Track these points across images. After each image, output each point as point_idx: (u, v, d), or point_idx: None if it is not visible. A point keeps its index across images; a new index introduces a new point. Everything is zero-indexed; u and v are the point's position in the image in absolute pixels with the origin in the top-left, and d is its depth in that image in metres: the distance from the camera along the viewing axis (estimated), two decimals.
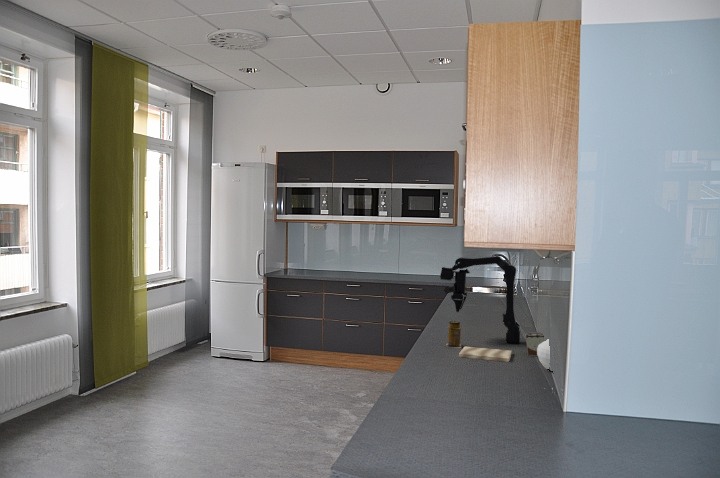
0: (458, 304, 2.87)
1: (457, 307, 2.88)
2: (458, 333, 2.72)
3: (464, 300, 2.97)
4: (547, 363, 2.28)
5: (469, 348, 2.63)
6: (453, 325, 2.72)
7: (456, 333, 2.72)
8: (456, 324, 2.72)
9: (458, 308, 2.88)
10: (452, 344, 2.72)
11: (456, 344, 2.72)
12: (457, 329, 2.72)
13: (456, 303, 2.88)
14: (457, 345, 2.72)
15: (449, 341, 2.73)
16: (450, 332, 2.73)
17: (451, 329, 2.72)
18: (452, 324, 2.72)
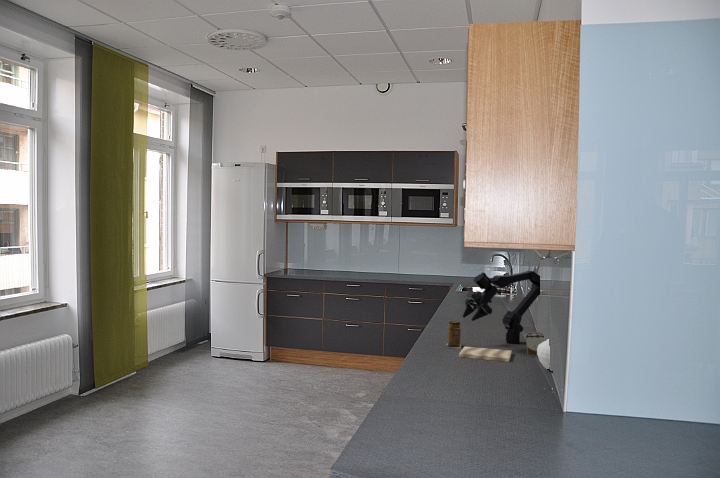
0: (479, 315, 2.72)
1: (476, 316, 2.72)
2: (458, 333, 2.72)
3: (471, 312, 2.83)
4: (547, 363, 2.28)
5: (469, 348, 2.63)
6: (453, 325, 2.72)
7: (456, 333, 2.72)
8: (456, 324, 2.72)
9: (476, 318, 2.72)
10: (452, 344, 2.72)
11: (456, 344, 2.72)
12: (457, 329, 2.72)
13: (478, 313, 2.72)
14: (457, 345, 2.72)
15: (449, 341, 2.73)
16: (450, 332, 2.73)
17: (451, 329, 2.72)
18: (452, 324, 2.72)
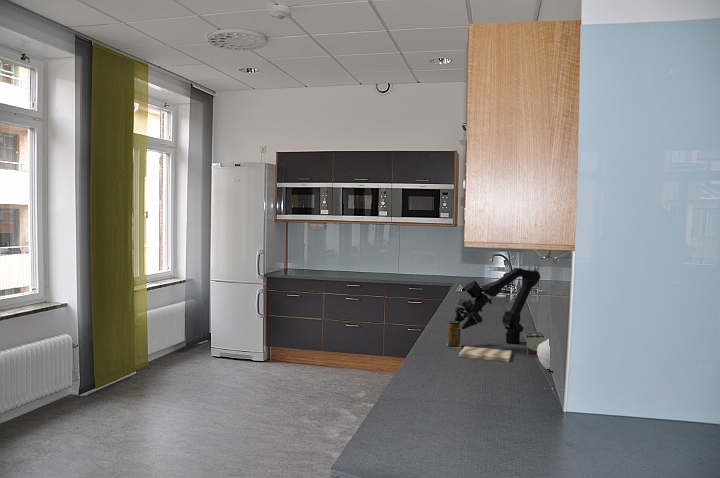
0: (469, 323, 2.70)
1: (466, 325, 2.70)
2: (458, 333, 2.72)
3: (461, 320, 2.81)
4: (547, 363, 2.28)
5: (469, 348, 2.63)
6: (453, 325, 2.72)
7: (456, 333, 2.72)
8: (456, 324, 2.72)
9: (466, 326, 2.70)
10: (452, 344, 2.72)
11: (456, 344, 2.72)
12: (457, 329, 2.72)
13: (468, 321, 2.70)
14: (457, 345, 2.72)
15: (449, 341, 2.73)
16: (450, 332, 2.73)
17: (451, 329, 2.72)
18: (452, 324, 2.72)
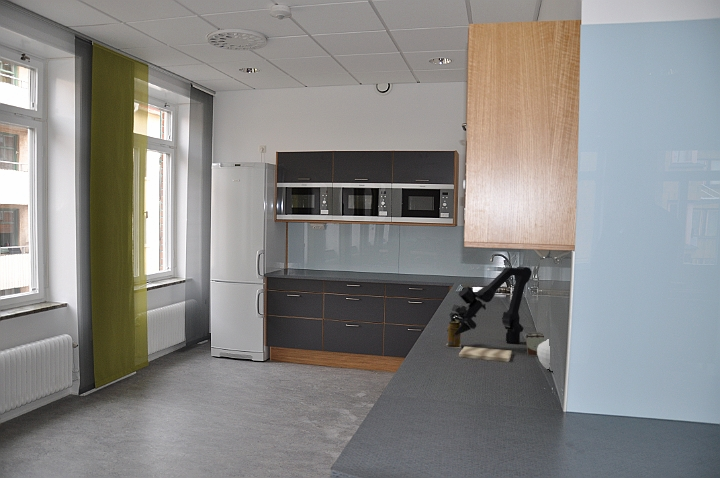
0: (462, 329, 2.70)
1: (459, 331, 2.69)
2: None
3: None
4: (547, 363, 2.28)
5: (469, 348, 2.63)
6: (453, 325, 2.72)
7: None
8: (456, 324, 2.72)
9: (459, 332, 2.70)
10: (452, 344, 2.72)
11: (456, 344, 2.72)
12: None
13: (461, 327, 2.69)
14: (457, 345, 2.72)
15: (449, 341, 2.73)
16: (450, 331, 2.73)
17: (451, 329, 2.72)
18: (452, 324, 2.72)
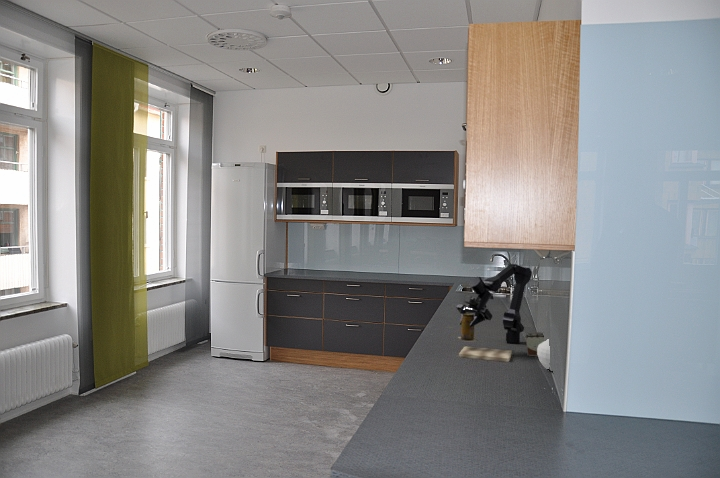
0: (477, 320, 2.62)
1: (474, 322, 2.61)
2: (473, 326, 2.63)
3: None
4: (547, 363, 2.28)
5: (469, 348, 2.63)
6: (469, 318, 2.62)
7: None
8: (471, 316, 2.62)
9: (474, 324, 2.61)
10: (468, 337, 2.62)
11: (471, 337, 2.62)
12: None
13: (476, 318, 2.61)
14: (472, 338, 2.63)
15: (463, 335, 2.62)
16: (466, 324, 2.62)
17: (467, 322, 2.62)
18: (467, 317, 2.62)
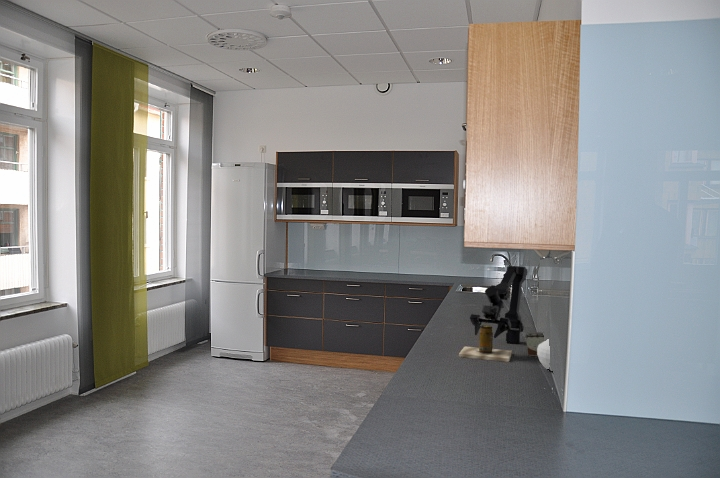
0: (499, 331, 2.54)
1: (498, 333, 2.53)
2: (492, 338, 2.56)
3: (479, 328, 2.62)
4: (547, 363, 2.28)
5: (469, 348, 2.63)
6: (488, 330, 2.54)
7: (491, 338, 2.55)
8: (491, 328, 2.55)
9: (497, 334, 2.53)
10: (488, 350, 2.54)
11: (491, 349, 2.55)
12: (492, 333, 2.55)
13: (499, 329, 2.54)
14: (491, 350, 2.56)
15: (484, 348, 2.54)
16: (486, 337, 2.54)
17: (487, 334, 2.54)
18: (487, 329, 2.54)
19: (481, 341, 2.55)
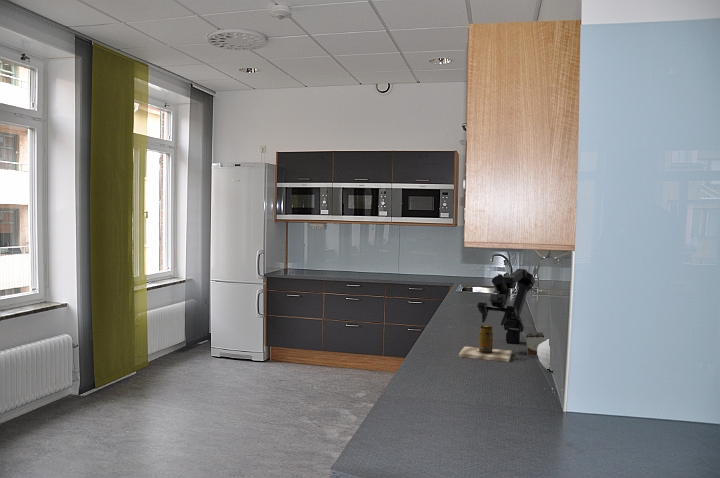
0: (506, 318, 2.62)
1: (504, 320, 2.60)
2: (492, 338, 2.56)
3: (486, 316, 2.69)
4: (547, 363, 2.28)
5: (469, 348, 2.63)
6: (489, 330, 2.54)
7: (491, 338, 2.55)
8: (491, 328, 2.55)
9: (504, 322, 2.61)
10: (488, 350, 2.54)
11: (491, 349, 2.55)
12: (492, 333, 2.55)
13: (506, 316, 2.61)
14: (491, 350, 2.56)
15: (484, 348, 2.54)
16: (486, 337, 2.54)
17: (487, 334, 2.54)
18: (487, 329, 2.54)
19: (481, 341, 2.55)
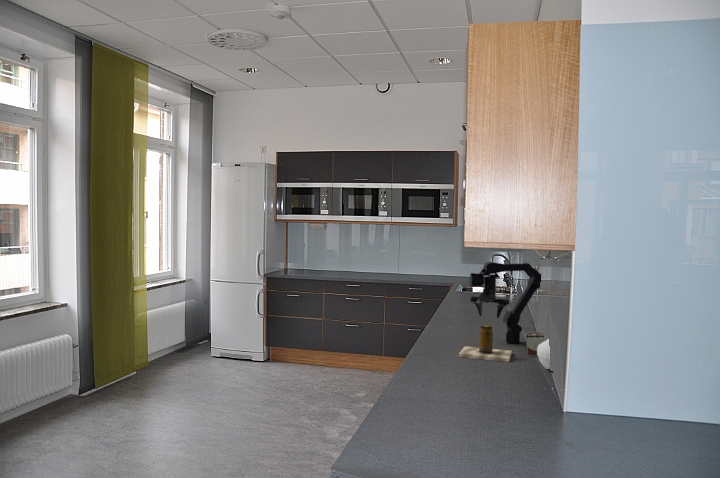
0: (500, 310, 2.81)
1: (499, 313, 2.80)
2: (492, 338, 2.56)
3: (481, 305, 2.88)
4: (547, 363, 2.28)
5: (469, 348, 2.63)
6: (489, 330, 2.54)
7: (491, 338, 2.55)
8: (491, 328, 2.55)
9: (499, 314, 2.81)
10: (488, 350, 2.54)
11: (491, 349, 2.55)
12: (492, 333, 2.55)
13: (500, 309, 2.80)
14: (491, 350, 2.56)
15: (484, 348, 2.54)
16: (486, 337, 2.54)
17: (487, 334, 2.54)
18: (487, 329, 2.54)
19: (481, 341, 2.55)
